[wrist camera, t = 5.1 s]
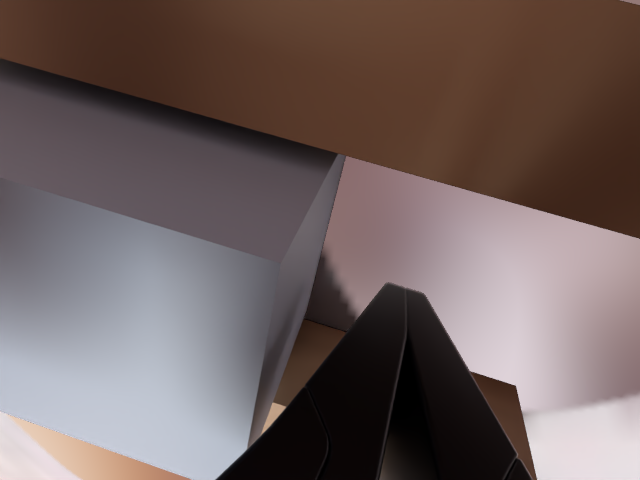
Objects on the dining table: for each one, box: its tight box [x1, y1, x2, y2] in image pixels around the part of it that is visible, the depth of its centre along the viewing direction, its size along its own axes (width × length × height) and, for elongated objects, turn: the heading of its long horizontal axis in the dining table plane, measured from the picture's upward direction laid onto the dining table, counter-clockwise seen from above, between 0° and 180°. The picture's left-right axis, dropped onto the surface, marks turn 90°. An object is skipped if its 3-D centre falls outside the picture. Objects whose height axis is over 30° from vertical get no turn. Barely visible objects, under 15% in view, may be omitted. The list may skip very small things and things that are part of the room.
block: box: [0, 58, 346, 480], centre depth 8 cm, size 8×6×5 cm
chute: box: [0, 0, 640, 480], centre depth 8 cm, size 18×11×4 cm, turn 78°
